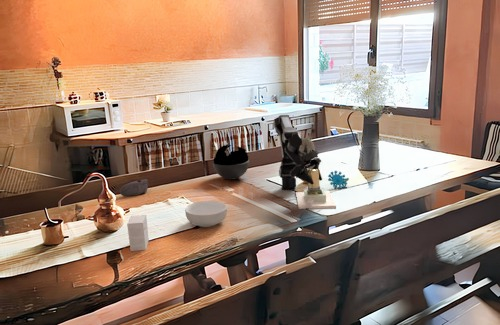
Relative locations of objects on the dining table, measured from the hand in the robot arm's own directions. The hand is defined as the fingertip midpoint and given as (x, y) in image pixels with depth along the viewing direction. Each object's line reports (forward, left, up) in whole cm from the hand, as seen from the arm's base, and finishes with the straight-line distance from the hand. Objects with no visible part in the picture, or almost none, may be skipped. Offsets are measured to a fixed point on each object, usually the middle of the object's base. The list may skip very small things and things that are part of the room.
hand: (317, 182), depth 194 cm
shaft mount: (-1, +1, -9) cm, 9 cm away
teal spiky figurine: (+13, +21, -9) cm, 26 cm away
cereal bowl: (-47, -23, -9) cm, 53 cm away
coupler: (-1, +1, -8) cm, 8 cm away
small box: (-69, -43, -9) cm, 82 cm away
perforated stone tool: (-89, +18, -9) cm, 91 cm away
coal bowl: (-42, +41, -9) cm, 59 cm away
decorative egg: (+1, +73, -9) cm, 73 cm away
